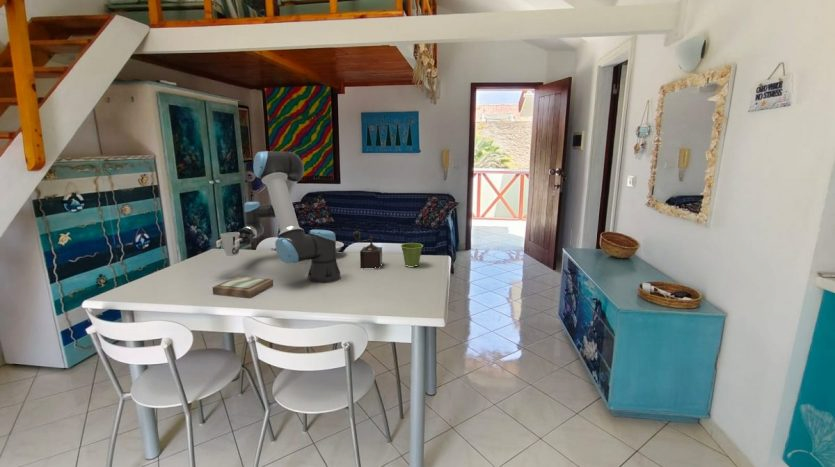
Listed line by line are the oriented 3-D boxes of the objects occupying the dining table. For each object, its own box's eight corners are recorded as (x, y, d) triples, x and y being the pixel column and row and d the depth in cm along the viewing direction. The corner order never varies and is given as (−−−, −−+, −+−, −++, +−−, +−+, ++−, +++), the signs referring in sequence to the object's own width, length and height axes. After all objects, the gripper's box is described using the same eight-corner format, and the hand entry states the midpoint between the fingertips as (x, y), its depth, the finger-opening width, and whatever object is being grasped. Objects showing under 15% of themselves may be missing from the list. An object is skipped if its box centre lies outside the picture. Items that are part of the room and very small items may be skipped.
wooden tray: (273, 285, 177) (272, 278, 176) (250, 298, 162) (249, 290, 161) (238, 282, 181) (237, 275, 180) (213, 294, 166) (212, 286, 165)
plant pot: (398, 263, 214) (398, 243, 212) (419, 262, 217) (419, 242, 215) (403, 269, 203) (403, 248, 200) (425, 268, 206) (425, 247, 203)
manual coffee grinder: (383, 263, 214) (382, 230, 211) (379, 269, 203) (379, 235, 200) (354, 262, 215) (353, 230, 212) (350, 268, 204) (349, 234, 201)
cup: (234, 257, 182) (232, 235, 180) (218, 256, 183) (216, 235, 181) (245, 252, 189) (243, 232, 187) (230, 252, 191) (228, 231, 189)
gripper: (267, 241, 204) (249, 252, 181) (227, 241, 203) (204, 252, 181) (266, 227, 202) (248, 236, 180) (225, 227, 202) (202, 236, 179)
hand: (226, 244), depth 180 cm, fingers closed on cup, 8 cm apart
